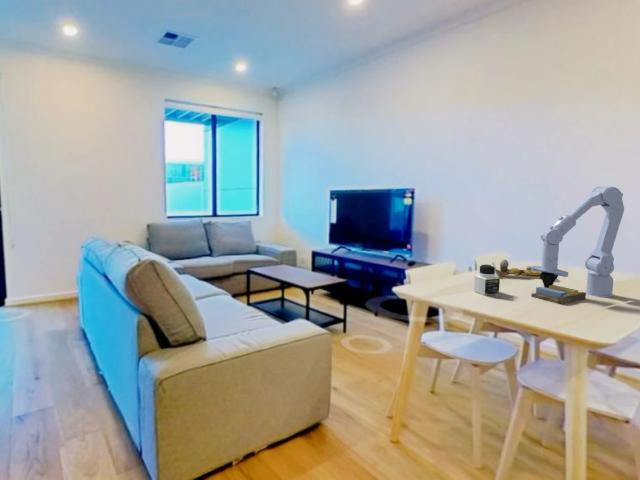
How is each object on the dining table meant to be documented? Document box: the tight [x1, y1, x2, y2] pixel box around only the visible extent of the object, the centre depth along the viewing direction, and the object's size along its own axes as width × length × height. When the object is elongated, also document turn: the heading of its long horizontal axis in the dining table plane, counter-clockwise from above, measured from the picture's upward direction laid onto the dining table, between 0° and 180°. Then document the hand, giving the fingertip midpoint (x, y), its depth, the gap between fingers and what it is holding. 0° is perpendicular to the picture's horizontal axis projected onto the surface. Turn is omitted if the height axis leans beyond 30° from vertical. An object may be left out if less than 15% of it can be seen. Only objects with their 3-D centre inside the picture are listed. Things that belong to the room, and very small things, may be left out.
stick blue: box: [535, 286, 566, 299], centre depth 154 cm, size 10×3×4 cm, turn 26°
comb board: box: [530, 291, 587, 305], centre depth 155 cm, size 12×15×3 cm
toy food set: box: [491, 258, 542, 281], centre depth 197 cm, size 25×18×8 cm
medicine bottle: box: [473, 264, 501, 297], centre depth 165 cm, size 7×7×12 cm
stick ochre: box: [549, 284, 580, 295], centre depth 157 cm, size 10×3×4 cm, turn 26°
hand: (547, 290), depth 163 cm, fingers closed
